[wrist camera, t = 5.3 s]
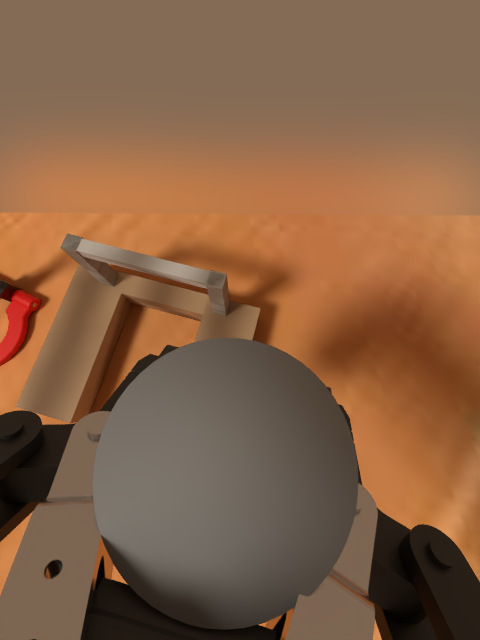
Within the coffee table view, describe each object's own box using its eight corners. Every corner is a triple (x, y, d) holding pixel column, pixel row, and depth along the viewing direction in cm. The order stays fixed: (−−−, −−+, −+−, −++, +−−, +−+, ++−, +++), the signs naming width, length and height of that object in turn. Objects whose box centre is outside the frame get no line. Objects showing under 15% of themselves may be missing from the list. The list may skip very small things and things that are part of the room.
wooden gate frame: (258, 316, 31) (267, 279, 22) (220, 459, 28) (211, 491, 18) (94, 273, 32) (32, 219, 23) (37, 406, 29) (-63, 408, 19)
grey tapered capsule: (286, 391, 17) (375, 372, 6) (265, 485, 15) (333, 670, 5) (201, 369, 17) (144, 312, 6) (175, 460, 16) (48, 580, 5)
